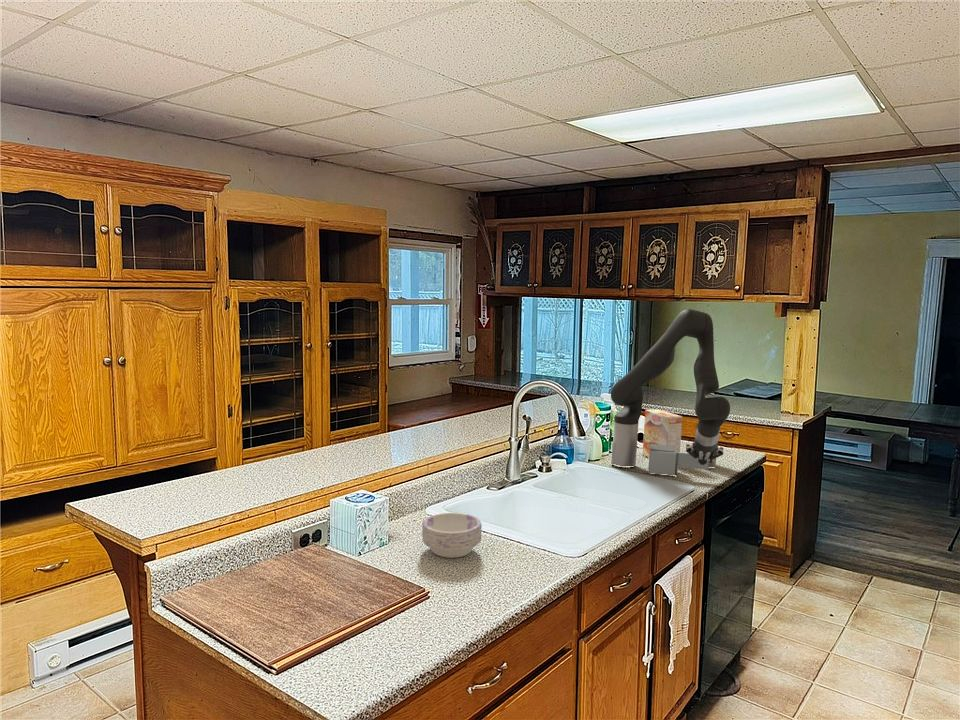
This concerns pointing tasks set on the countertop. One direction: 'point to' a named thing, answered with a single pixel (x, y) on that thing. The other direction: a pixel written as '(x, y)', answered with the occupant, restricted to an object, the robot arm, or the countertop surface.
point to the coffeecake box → (661, 430)
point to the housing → (661, 449)
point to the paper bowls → (451, 534)
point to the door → (672, 462)
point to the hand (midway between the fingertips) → (702, 462)
